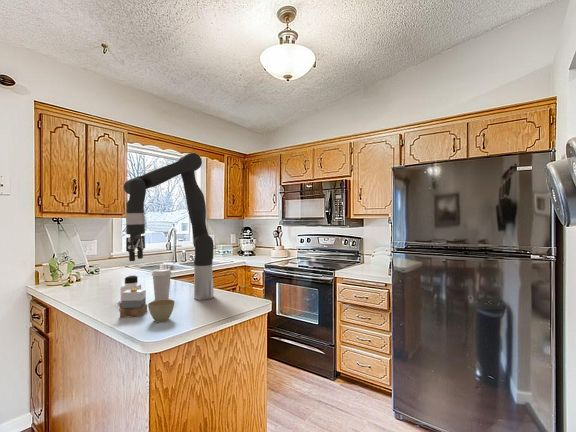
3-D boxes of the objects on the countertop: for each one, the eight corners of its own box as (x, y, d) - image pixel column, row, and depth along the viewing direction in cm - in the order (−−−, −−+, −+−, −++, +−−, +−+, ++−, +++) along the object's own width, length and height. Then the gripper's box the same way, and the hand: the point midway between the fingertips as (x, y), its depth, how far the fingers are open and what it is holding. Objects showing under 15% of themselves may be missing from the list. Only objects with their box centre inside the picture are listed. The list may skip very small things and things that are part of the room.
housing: (145, 305, 138) (145, 287, 138) (140, 308, 133) (140, 290, 133) (127, 305, 137) (127, 288, 137) (121, 308, 132) (121, 290, 132)
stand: (147, 311, 139) (147, 304, 139) (139, 316, 131) (139, 309, 131) (128, 311, 139) (128, 304, 139) (120, 317, 131) (119, 310, 131)
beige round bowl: (153, 316, 131) (153, 299, 131) (177, 315, 132) (177, 299, 132) (144, 324, 121) (144, 306, 121) (170, 323, 122) (170, 305, 122)
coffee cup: (147, 300, 157) (147, 271, 158) (161, 296, 166) (161, 268, 166) (162, 302, 154) (161, 272, 154) (175, 297, 163) (175, 269, 163)
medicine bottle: (141, 297, 164) (141, 274, 164) (133, 301, 156) (133, 277, 157) (128, 297, 164) (128, 274, 164) (120, 301, 157) (120, 277, 157)
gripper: (137, 223, 132) (138, 261, 132) (150, 223, 146) (150, 257, 146) (119, 224, 131) (120, 262, 131) (133, 223, 146) (134, 258, 146)
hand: (136, 259), depth 139 cm, fingers open, 8 cm apart
